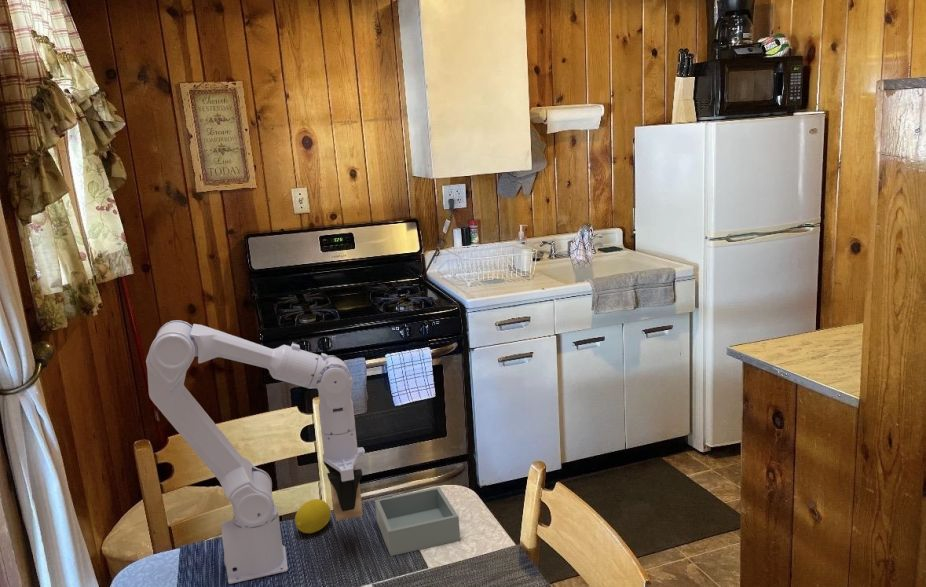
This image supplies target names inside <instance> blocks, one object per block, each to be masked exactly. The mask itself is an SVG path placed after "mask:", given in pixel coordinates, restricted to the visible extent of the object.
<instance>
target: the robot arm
mask: <svg viewBox="0 0 926 587" xmlns="http://www.w3.org/2000/svg"><path fill="white" fill-rule="evenodd" d="M151 342H152V343H151V345H150V347H149V350H148V354H147V355H146V360H145V363H146V369H147V370H146V372H147V385H148V388H147V389H148V396H149V399H150V400H151V401H152V402H153V404H154V405H155V406H156V407H157V409H158V410H159V411H160V412H161V414H162V415H163V416H164V417H165V419H166V420H167V421H168V422H169V423H170V424H171V425H172V427H173V428H174V429H175V431H176V432H178V434H179V435H180V436H181V437H182V439H183V440H184V441H185V442H186V443H187V444H188V446H189V447H190V448H191V450H193V452H194V453H195V454H196V456H198V457H199V459H200V460H201V461H202V463H203V464H204V465H205V466H206V467H207V468H208V470H209V471H210V472H211V473H212V474H213V475H214V476H215V477H216V479H217V480H218V481H219V484H220V485H221V488H222V491H223V493H224V495H225V497H226V499H227V500H228V501H229V502H230V504H231V506H232V511H233V518H231V519H229V520H226V521H223V522H221V538H222V546H223V554H224V555H223V563H224V566H225V568H226V576H227V584H229V585H231V584H236V583H241V582H245V581H249V580H254V579H255V580H256V579H258V578H263V577H268V576H271V575H276V574H279V573H280V574H281V573H285V572H287V571H288V570H289V568H288V559H287V552H286V546H285V545H283V540H282V539H283V538H282V533H281V532H282V531H281V524H280V515H279V508H278V506H276V505H275V501H274V498H273V491H272V490H273V489H272V488H273V482H272V477H270V475H269V473H268V472H267V471H265V470H263V469H261V468H257V467H256V466H255V465H254V464H253V463H252V462H251V461H250V459H248V458H245V457H243V456H242V455H241V454H240V452H239V451H238V450H237V449H236V448H235V446H234V445H233V444H232V442H230V440H229V439H228V438H227V437H226V435H225V434H224V433H223V432H222V430H221V429H220V428H219V427H218V426H217V424H216V423H215V422H214V420H213V419H212V418H211V417H210V416H209V414H208V413H207V412H206V411H205V410H204V408H203V407H202V406H201V404H200V403H199V402H198V401H197V399H196V398H195V397H194V395H192V394H191V392H190V391H189V389H187V387H186V386H185V380H186V375H187V371H188V369H189V368H190V366H191V365H192V363H193V361H194V359H195V357H198V358H197V363H198V364H203V363H205V362H208V361H210V360H213V359H216V358H223V359H225V360H226V359H227V360H231V361H234V362H239V363H242V364H243V363H244V364H247V365H251V366H256V367H259V368H263V369H267V370H268V371H269V374H270V376H271V377H272V378H273V379H275V380H278V381H282V382H286V383H289V384H293V385H295V386H299V387H303V388H306V389H308V390H309V389H310V390H311V389H317V391H318V400H319V401H318V412H319V413H318V414H319V420H320V421H319V423H320V432H321V440H322V442H321V443H322V450H323V453H322V462H323V465H324V466H325V467H326V469H327V470H328V472H327V479H328V481H329V483H330V482H331V484H332V485H333V487H334V488H335V490H336V493H337V496H338V500H339V503H340V506H341V509H342V511H348V510H353V509H354V508H355V503H356V494H357V488H358V484H359V483H360V480H361V479H362V478H363V471H362V468H359V469H354V467H355V465H356V463H357V461H358V459H359V457H360V456H364V455H365V454H366V451H365V448H364V447H363V446H361V447H359V446H358V442H357V441H358V440H357V432H356V420H355V412H354V411H355V410H354V402H353V399H352V396H353V395H352V394H353V393H352V388H353V386H354V378H353V376H352V373H351V371H350V370H349V368H348V366H347V364H346V363H345V362H344V361H343V360H342V359H341V358H339V357H337V356H336V355H334V354H332V355H330V354H329V355H328V354H326V353H323V352H321V354H317V353H313V352H311V351H307V350H305V349H304V350H303V349H301V347H300V344H297V343H291V345H288V344H287V345H286V344H282V345H280V346H279V347H278V346H277V347H276V348H270V347H267V346H264V345H262V344H259V343H256V342H253V341H250V340H248V339H244V338H242V337H239V336H236V335H232V334H229V333H227V332H225V331H221V330H218V329H216V328H212V327H210V326H209V327H208V326H206V325H203V324H199V323H198V324H197V323H193V324H190V323H189V322H187V321H184V320H177V319H176V320H169V322H168V321H167V322H166V323H165V324H163V325H162V326H160V328H159V330H157V333H156V336H155V338H154V340H153V341H151Z"/></svg>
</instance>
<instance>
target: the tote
mask: <svg viewBox="0 0 926 587" xmlns="http://www.w3.org/2000/svg"><path fill="white" fill-rule="evenodd" d="M374 503H375V515H376V522H377V525H378V528H379V531H380V533H381V536H382V539H383V541H384V544H385V546H386V548H387V551H388V553H389V556H390V557H394V556H397V555H401V554H406V553H410V552H415V551H419V550H424V549H428V548H433V547H437V546H441V545H442V546H443V545H446V544H450V543H454V542H459V541H461V532H460V518H459V514H457V511H456V510H455V509H454V507H453V506H452V503H451V502H450V501H449V499H448V498H447V496H446V494H445V493H444V492H443V490H442V488H441V487H440V486H437V487H432V488H426V489H423V490H417V491H413V492H408V493H402V494H397V495H393V496H387V497H384V498H379V499H378V498H377V499H375V500H374Z"/></svg>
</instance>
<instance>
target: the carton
mask: <svg viewBox="0 0 926 587" xmlns="http://www.w3.org/2000/svg"><path fill="white" fill-rule="evenodd" d="M329 483H330V492H331V493H330V494H331V502H332V510H333V512H334V518H335V520H336V522H339V521H342V520H343V521H344V520H348V519H353V518H357V517H361V516H362V517H363V505H362V496H361V486H360V482H359V484H358V488H357V494H356V503H355V508H354V509H353V510H348V511H342V509H341V506H340V503H339V500H338V496H337V493H336V490H335V488H334V487H333V485H332V484H331V482H330V481H329Z"/></svg>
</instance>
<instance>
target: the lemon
mask: <svg viewBox="0 0 926 587" xmlns="http://www.w3.org/2000/svg"><path fill="white" fill-rule="evenodd" d="M331 515H332V514H331V507H330V506H329V504H328V503H327V502H326V501H325V500H322V499H318V498H317V499H316V498H315V499H311V500H308V501H306V502H305V503H304V504H302V505H301V506H300V507H299V509H298V510H297V511H296V513H295V515H294V523H295V526H296V528H297V529H298V530H299V531H300V532H301V533H303V534H314V533H317V532H319V531H320V530H322V529H324V527H326V526H327V525H328V523H329V521H330V519H331Z"/></svg>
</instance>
